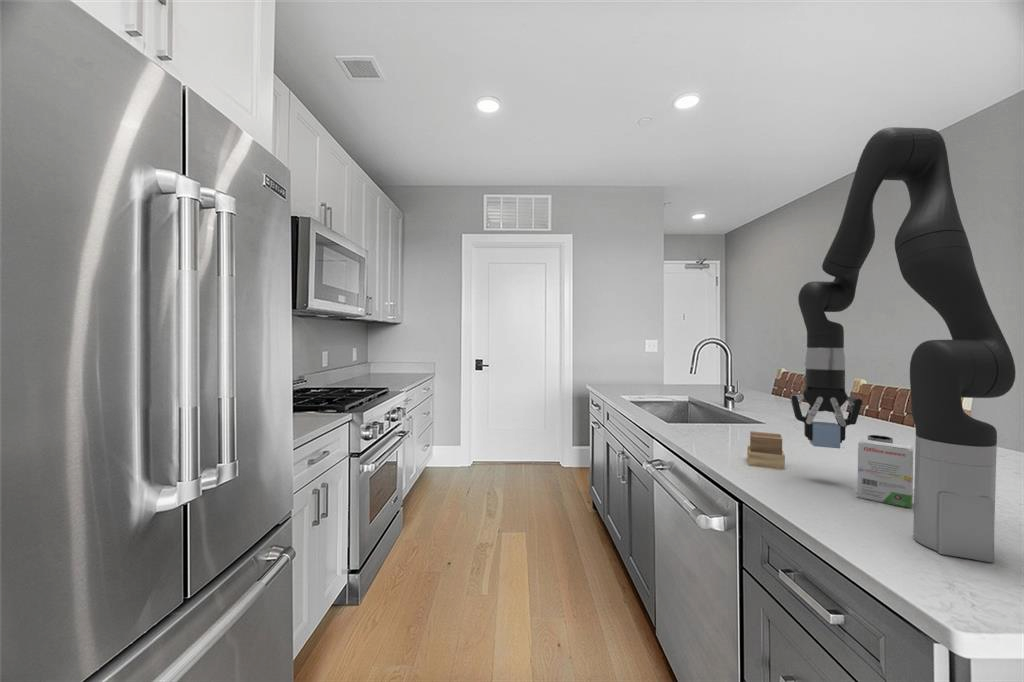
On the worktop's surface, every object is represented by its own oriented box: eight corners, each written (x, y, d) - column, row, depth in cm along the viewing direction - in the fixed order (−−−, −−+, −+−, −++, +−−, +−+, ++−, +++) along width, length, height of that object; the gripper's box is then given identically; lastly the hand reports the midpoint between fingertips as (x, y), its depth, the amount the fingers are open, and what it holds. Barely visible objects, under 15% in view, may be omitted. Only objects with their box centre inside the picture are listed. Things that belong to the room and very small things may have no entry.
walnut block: (782, 455, 112) (782, 439, 112) (750, 451, 115) (750, 436, 115) (779, 448, 118) (780, 433, 118) (750, 445, 122) (750, 431, 122)
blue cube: (840, 448, 99) (840, 426, 99) (813, 446, 102) (813, 424, 102) (834, 444, 104) (834, 422, 104) (809, 442, 106) (809, 421, 106)
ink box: (913, 502, 90) (914, 445, 90) (911, 509, 87) (912, 449, 87) (860, 491, 97) (861, 437, 96) (856, 497, 93) (857, 441, 93)
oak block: (784, 471, 112) (784, 455, 112) (748, 466, 116) (749, 451, 116) (780, 462, 119) (781, 448, 119) (747, 459, 123) (747, 444, 123)
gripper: (791, 367, 103) (790, 441, 102) (868, 369, 97) (868, 447, 96) (786, 366, 109) (786, 435, 109) (858, 367, 103) (858, 441, 103)
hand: (824, 440), depth 103 cm, fingers closed on blue cube, 5 cm apart
